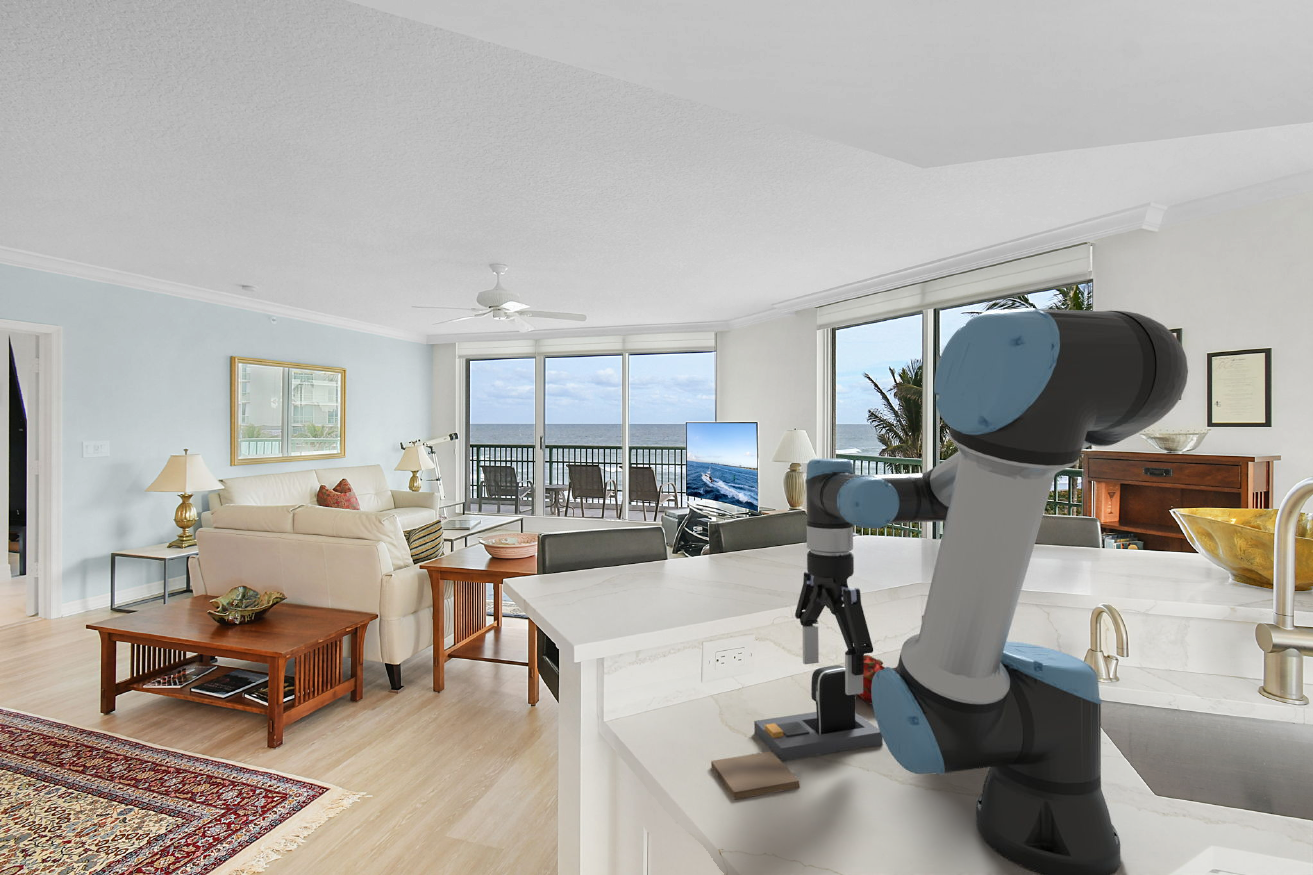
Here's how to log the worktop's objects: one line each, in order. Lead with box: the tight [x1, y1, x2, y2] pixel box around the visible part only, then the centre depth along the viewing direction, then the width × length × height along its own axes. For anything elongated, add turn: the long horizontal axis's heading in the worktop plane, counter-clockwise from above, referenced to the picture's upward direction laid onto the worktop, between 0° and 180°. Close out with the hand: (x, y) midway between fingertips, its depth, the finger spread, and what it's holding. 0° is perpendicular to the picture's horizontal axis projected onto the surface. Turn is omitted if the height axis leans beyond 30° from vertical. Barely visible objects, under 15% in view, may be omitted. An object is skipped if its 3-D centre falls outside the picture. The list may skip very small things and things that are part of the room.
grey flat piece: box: [753, 711, 884, 762], centre depth 106 cm, size 10×18×3 cm, turn 106°
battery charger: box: [810, 664, 857, 735], centre depth 107 cm, size 7×4×11 cm, turn 111°
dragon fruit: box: [856, 654, 886, 706], centre depth 121 cm, size 8×8×12 cm
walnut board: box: [710, 750, 800, 800], centre depth 94 cm, size 9×10×1 cm
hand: (831, 677), depth 107 cm, fingers open, 13 cm apart
